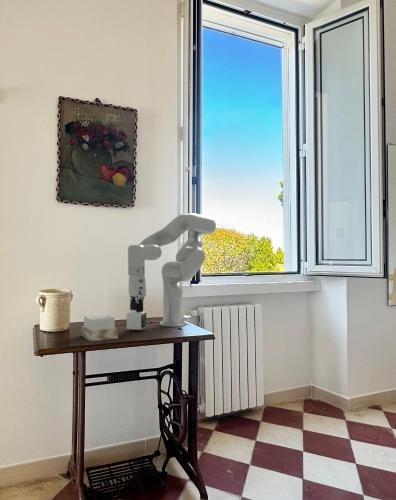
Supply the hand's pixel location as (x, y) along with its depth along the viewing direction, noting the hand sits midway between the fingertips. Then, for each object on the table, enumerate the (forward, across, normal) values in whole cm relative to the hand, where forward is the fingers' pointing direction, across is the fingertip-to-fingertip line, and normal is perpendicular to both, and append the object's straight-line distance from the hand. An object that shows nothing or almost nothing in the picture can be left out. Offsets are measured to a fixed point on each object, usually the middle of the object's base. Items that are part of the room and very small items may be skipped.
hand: (136, 310), depth 177 cm
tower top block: (+5, -4, +19) cm, 20 cm away
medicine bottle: (+8, 0, 0) cm, 8 cm away
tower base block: (+9, -4, +19) cm, 21 cm away
